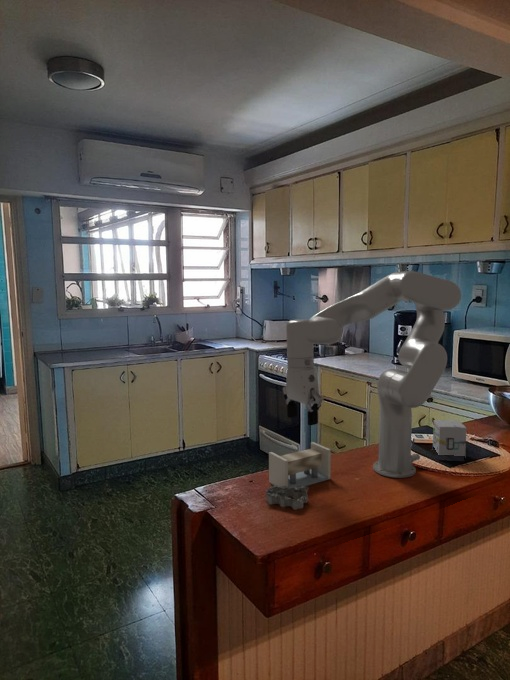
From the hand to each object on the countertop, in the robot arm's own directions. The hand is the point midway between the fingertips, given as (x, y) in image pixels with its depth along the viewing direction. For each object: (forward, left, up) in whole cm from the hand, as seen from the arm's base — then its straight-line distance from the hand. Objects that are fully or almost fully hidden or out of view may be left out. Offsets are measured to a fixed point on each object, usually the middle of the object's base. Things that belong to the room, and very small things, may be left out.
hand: (302, 420), depth 137 cm
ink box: (-52, +12, -18) cm, 57 cm away
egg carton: (+12, +9, -19) cm, 24 cm away
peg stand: (+1, 0, -18) cm, 18 cm away
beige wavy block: (+1, 0, -14) cm, 14 cm away
